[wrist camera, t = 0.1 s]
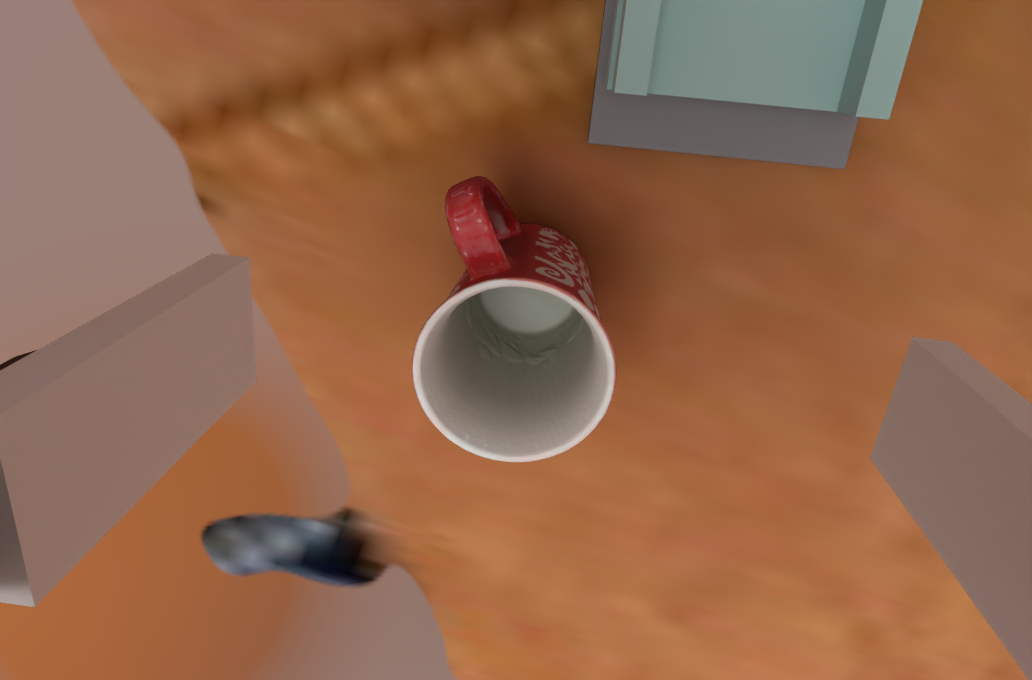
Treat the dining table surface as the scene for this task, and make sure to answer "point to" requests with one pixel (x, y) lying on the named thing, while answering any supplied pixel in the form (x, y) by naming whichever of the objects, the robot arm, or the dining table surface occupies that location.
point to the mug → (513, 337)
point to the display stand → (748, 75)
